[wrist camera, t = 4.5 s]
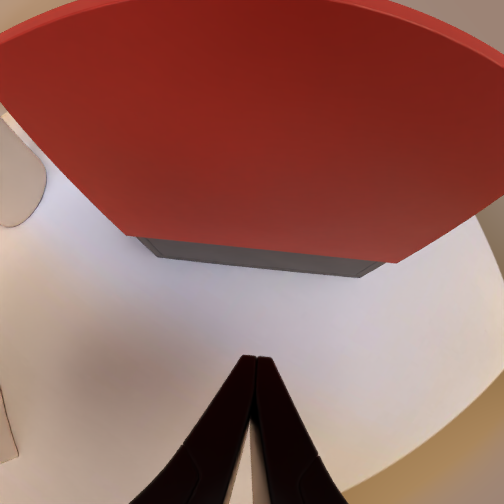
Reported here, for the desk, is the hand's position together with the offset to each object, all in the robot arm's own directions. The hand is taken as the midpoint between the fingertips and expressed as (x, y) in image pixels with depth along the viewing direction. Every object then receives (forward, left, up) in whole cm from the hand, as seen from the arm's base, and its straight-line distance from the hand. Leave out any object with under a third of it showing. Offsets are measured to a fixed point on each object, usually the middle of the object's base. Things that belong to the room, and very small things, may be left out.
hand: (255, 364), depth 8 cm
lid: (+5, -4, 0) cm, 6 cm away
